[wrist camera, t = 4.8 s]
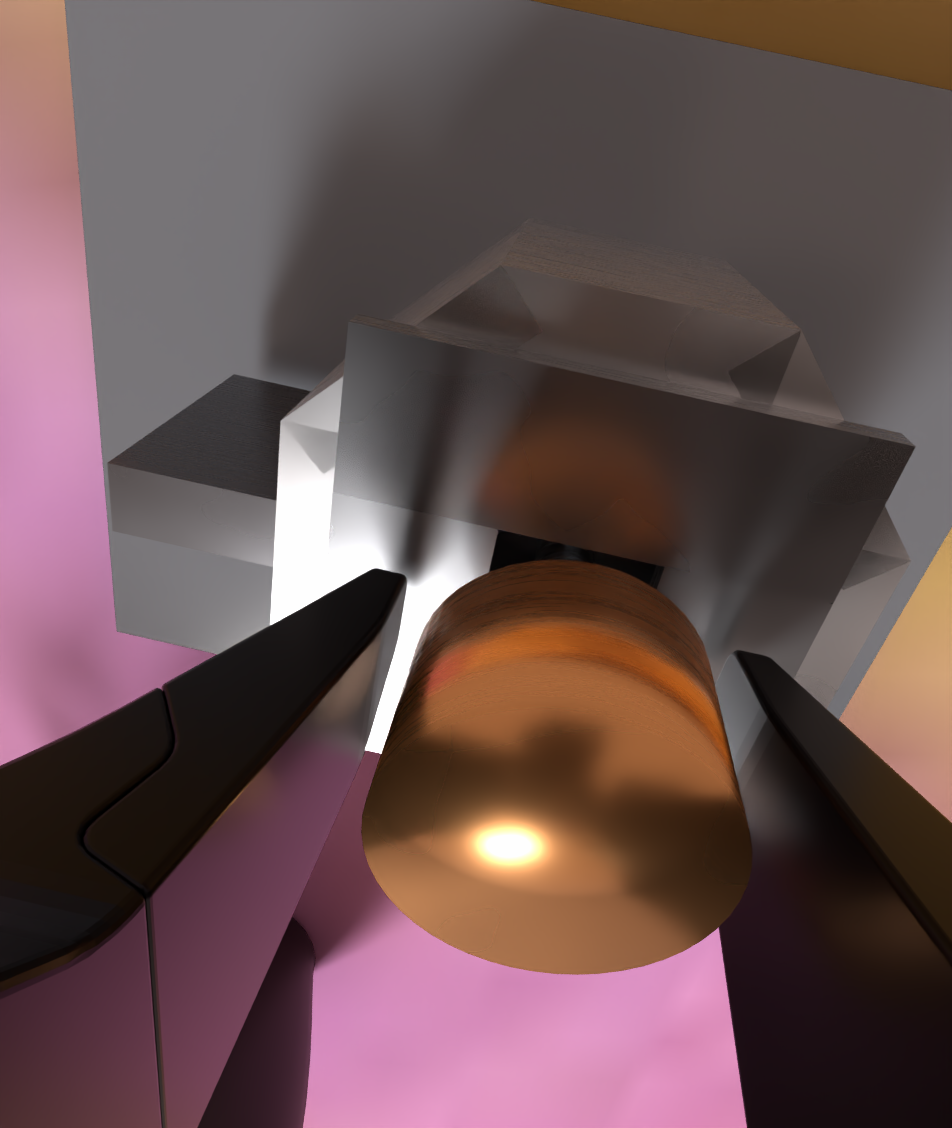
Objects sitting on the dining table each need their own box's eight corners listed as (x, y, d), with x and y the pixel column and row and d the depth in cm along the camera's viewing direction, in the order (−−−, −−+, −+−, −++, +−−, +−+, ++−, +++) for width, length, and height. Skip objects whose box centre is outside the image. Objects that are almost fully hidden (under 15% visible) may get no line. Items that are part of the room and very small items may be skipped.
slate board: (1141, 138, 11) (1178, 139, 10) (791, 760, 18) (799, 785, 17) (89, -87, 11) (56, -102, 11) (134, 612, 18) (116, 631, 17)
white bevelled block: (864, 290, 12) (1037, 388, 7) (701, 663, 16) (748, 876, 11) (257, 158, 12) (60, 175, 7) (245, 561, 16) (113, 731, 11)
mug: (81, 738, 20) (-255, 1144, 12) (407, 958, 24) (315, 1396, 15) (-36, 861, 24) (-355, 1239, 16) (262, 1037, 27) (124, 1427, 19)
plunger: (769, 360, 12) (1036, 690, 5) (666, 623, 14) (744, 1081, 7) (447, 289, 12) (254, 516, 5) (403, 565, 15) (239, 964, 8)
